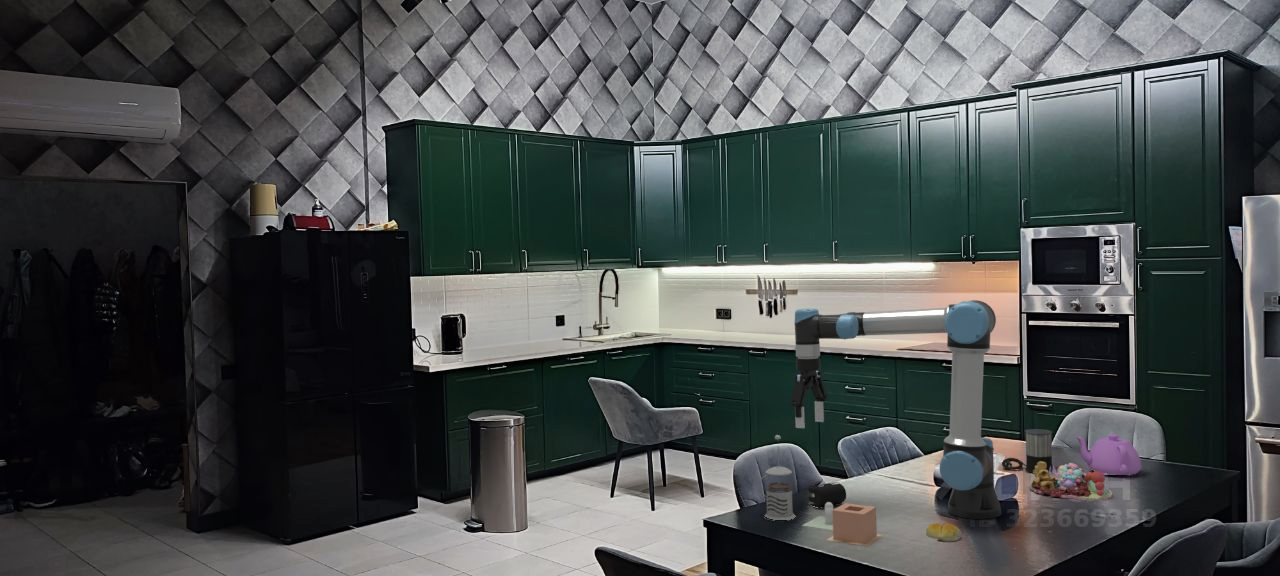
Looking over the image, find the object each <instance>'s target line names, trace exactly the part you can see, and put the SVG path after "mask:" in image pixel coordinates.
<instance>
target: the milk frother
mask: <svg viewBox="0 0 1280 576" xmlns="http://www.w3.org/2000/svg"><path fill="white" fill-rule="evenodd" d="M1024 432H1025V453H1026V454H1025V455H1026V456H1025V458H1026V461H1025V462H1026V463H1024V462H1023V461H1022V460H1020V459H1018V458H1016V457H1007V458H1004V459H1003V460H1002V461H1003V462H1002V461H1001V466H1002V468H1004V469H1005V470H1010V469H1019V470H1021V469H1022V468H1023V466H1025V471H1026V470H1027V471H1030V472H1033V470H1035V466H1036V465H1037V463H1038V462H1040V461H1042V462H1046V463H1047V468H1046V469H1045V470H1048V472H1049V469H1050V466H1051V471H1052V470H1053V451H1052V450H1053V446H1052V433H1053V431H1052V430H1048V429H1041V428H1040V429H1038V428H1035V429H1034V428H1033V429H1032V428H1031V429H1025V430H1024ZM1011 462H1014V463H1017V464H1018V466H1017V465H1016V466H1013V463H1011ZM1027 471H1026V472H1027Z"/></svg>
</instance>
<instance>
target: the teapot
mask: <svg viewBox="0 0 1280 576" xmlns="http://www.w3.org/2000/svg"><path fill="white" fill-rule="evenodd" d="M1073 437H1074V438H1076V439H1077V440H1078V443H1079V446H1080V455H1081V456H1080V457H1081V458H1082V459H1083V461H1084V462H1085V463H1086V465H1087V466H1088V467H1089V469H1090V470H1091V469H1093V470H1095V471H1100V472H1102V473H1107V474H1116V475H1129V474H1135V475H1137V474H1138V473H1139V472H1140V471H1141V470H1142V460H1141V458H1140V455H1139V452H1137V450H1136V449H1135V447H1134V445H1133V444H1132V443H1131V441H1129V440H1127V439H1122V438H1119V434H1114V433H1112V434H1111V433H1110V434H1107V437H1103V438H1098V439H1097V440H1096V441H1095V443H1093V446H1092V447H1091V448H1090V451H1088V448H1087V442H1086V441H1085V439H1084V438H1083V437H1080V436H1076V435H1073ZM1136 473H1137V474H1136Z"/></svg>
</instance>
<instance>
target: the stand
mask: <svg viewBox="0 0 1280 576" xmlns="http://www.w3.org/2000/svg"><path fill="white" fill-rule="evenodd" d="M884 535H885V534H884ZM884 535H883V534H878V533H877V536H876V537H874V538H873V539H871V540H870V541H868V542H867V543H865V544H862V543H855V542H848V541H842V540H835V539H833V535H832V536H830V537H828V538H827V539H825V540H826V541H830V542H837V543H842V544H843V543H844V544H849V545H857V546H863V547H869V546H871V545H872V544H874V543H875V542H876V541H878V540H879V539H881V538H882V537H884Z"/></svg>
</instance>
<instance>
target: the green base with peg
mask: <svg viewBox="0 0 1280 576" xmlns="http://www.w3.org/2000/svg"><path fill="white" fill-rule="evenodd" d="M833 510H834V506H833V504H832V503H830V502H827V503H826V504H825V507H824V516H821V515H820V516H819V515H818V516H816V517H815V518H813V519H811V520H809V521H808V522H805V523H804V524H802V525H801V526H802V527H809V528H816V529H823V530H830V531H833Z"/></svg>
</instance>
